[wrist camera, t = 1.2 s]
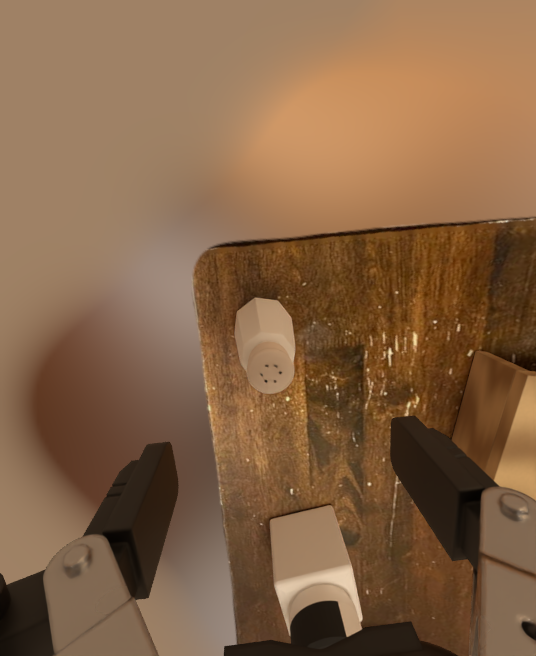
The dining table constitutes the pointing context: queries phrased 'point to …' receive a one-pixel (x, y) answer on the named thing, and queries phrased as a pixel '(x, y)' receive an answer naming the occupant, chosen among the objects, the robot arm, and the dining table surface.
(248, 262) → the dining table surface
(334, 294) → the dining table surface
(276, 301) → the pepper shaker
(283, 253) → the dining table surface
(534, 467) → the shelf
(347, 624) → the medicine bottle
